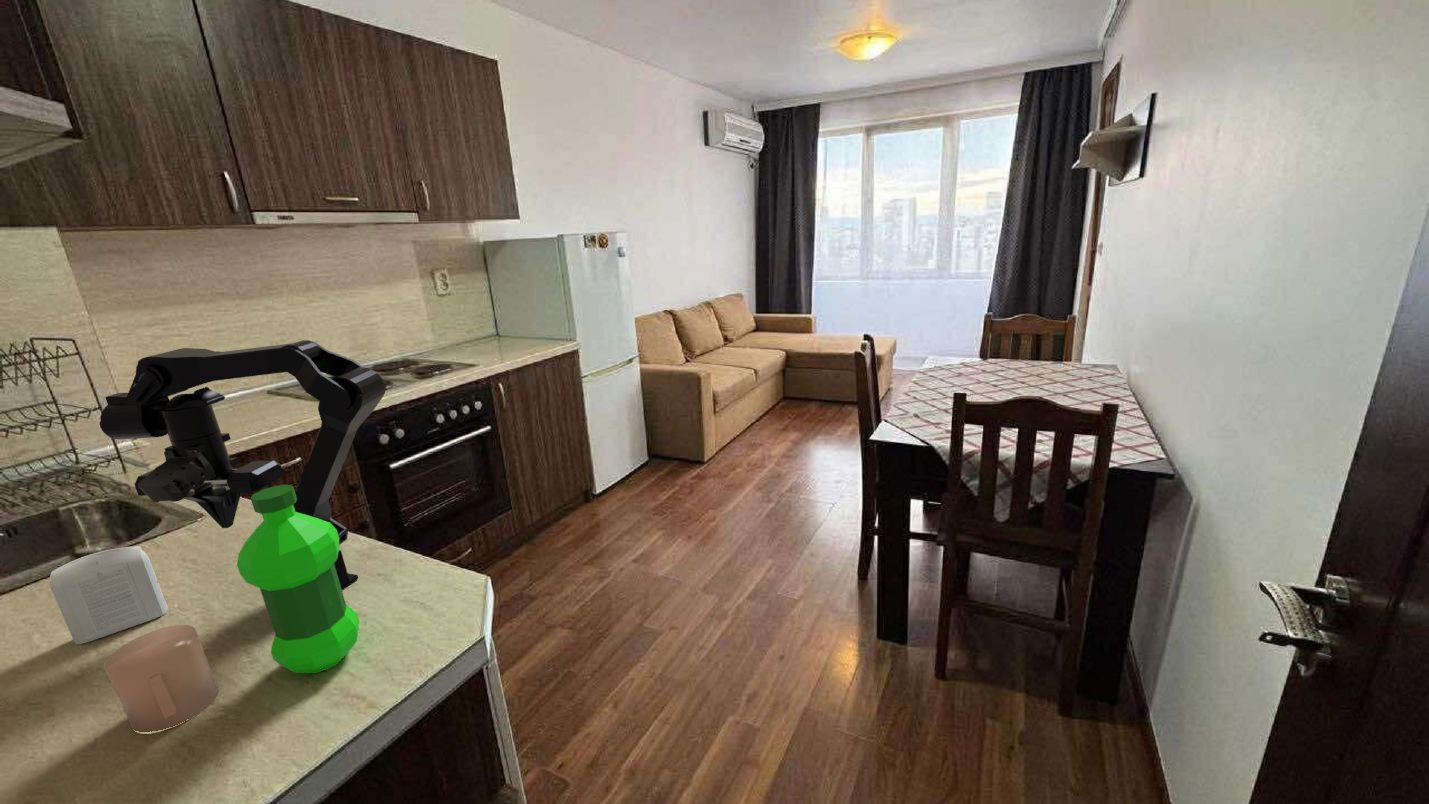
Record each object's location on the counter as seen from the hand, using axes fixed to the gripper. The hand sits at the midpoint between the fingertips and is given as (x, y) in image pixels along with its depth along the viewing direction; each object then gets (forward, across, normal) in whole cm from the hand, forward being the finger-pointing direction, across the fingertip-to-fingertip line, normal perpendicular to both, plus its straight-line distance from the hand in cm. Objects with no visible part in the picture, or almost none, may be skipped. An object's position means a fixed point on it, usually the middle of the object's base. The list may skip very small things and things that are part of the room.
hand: (227, 526), depth 90 cm
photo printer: (+12, -14, -8) cm, 20 cm away
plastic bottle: (+12, +24, -16) cm, 31 cm away
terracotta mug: (+12, +10, -24) cm, 28 cm away
